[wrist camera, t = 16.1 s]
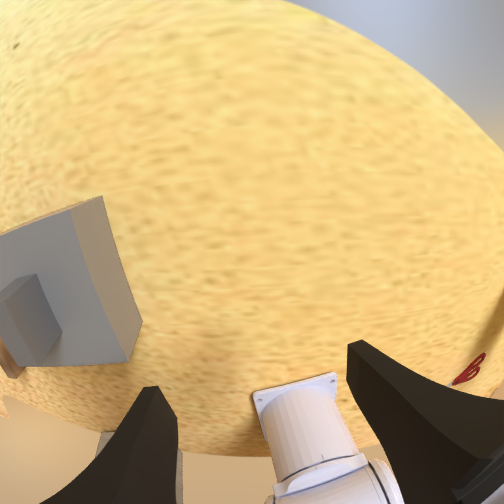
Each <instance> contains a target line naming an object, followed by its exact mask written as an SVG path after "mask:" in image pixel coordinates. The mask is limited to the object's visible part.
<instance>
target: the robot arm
mask: <svg viewBox="0 0 504 504" xmlns="http://www.w3.org/2000/svg"><path fill="white" fill-rule="evenodd" d="M346 381H347V383H348V385H349V388H350V390H351V392H352V395H353V397H354V399H355V401H356V403H357V405H358V406H359V408H360V410H361V411H362V413H363V415H364V416H365V418H366V420H367V421H368V423H369V425H370V426H371V428H372V430H373V431H374V433H375V434H376V436H377V438H378V439H379V441H380V443H381V445H382V447H383V448H384V451H385V453H386V456H387V458H388V460H389V462H390V465H391V467H392V470H393V472H394V475H395V477H396V480H397V482H396V480H395V478H394V476H393V474H392V472H391V471H390V469H389V468H388V466H387V465H386V463H385V462H383V461H382V460H377V459H376V458H372V459H370V460H369V461H368V462H367V460H366V458H365V456H364V454H363V453H359V451H358V449H357V446H356V444H355V442H354V440H353V438H352V436H351V434H350V432H349V430H348V428H347V426H346V423H345V421H344V419H343V417H342V415H341V413H340V411H339V409H338V407H337V405H336V391H337V374H336V373H335V372H330V373H327V374H323V375H320V376H317V377H313V378H309V379H306V380H302V381H298V382H295V383H291V384H287V385H282V386H278V387H274V388H270V389H265V390H260V391H256V392H254V393H253V400H254V403H255V407H256V410H257V414H258V417H259V421H260V424H261V428H262V431H263V435H264V438H265V441H266V442H268V443H269V448H270V452H271V456H272V460H273V465H274V469H275V473H276V477H277V482H278V484H275V485H273V490H274V495H270V496H268V498H267V499H266V502H265V503H264V504H504V400H498V399H491V398H485V397H480V396H476V395H472V394H468V393H464V392H461V391H458V390H454V389H451V388H449V387H446V386H444V385H441V384H439V383H436V382H434V381H432V380H429V379H427V378H425V377H423V376H421V375H419V374H417V373H415V372H414V371H412V370H410V369H408V368H407V367H405V366H403V365H401V364H400V363H398V362H396V361H395V360H393V359H392V358H390V357H388V356H387V355H385V354H384V353H382V352H381V351H379V350H378V349H376V348H375V347H373V346H371V345H370V344H368V343H367V342H365V341H364V340H359V341H356V342H353V343H350V344H348V351H347V376H346ZM177 453H178V425H177V417H176V415H175V413H174V412H173V410H172V409H171V407H170V405H169V404H168V402H167V400H166V399H165V397H164V395H163V394H162V392H161V390H160V388H159V387H158V386H151V387H144V388H143V389H142V391H141V392H140V394H139V395H138V397H137V398H136V400H135V402H134V403H133V405H132V406H131V408H130V410H129V411H128V413H127V414H126V416H125V418H124V419H123V421H122V422H121V424H120V425H119V427H118V428H117V430H116V431H115V433H114V434H113V436H112V437H111V438H110V440H109V441H108V442H107V444H106V445H105V447H104V448H103V449H102V450H101V452H100V453H99V454H98V455H97V457H96V458H95V459H94V460H93V461H92V462H91V463H90V464H89V465H88V467H87V468H86V469H85V470H84V471H82V472H81V473H80V474H79V475H78V476H77V477H76V478H75V479H74V480H73V481H72V482H71V483H69V484H68V485H67V486H65V487H64V488H63V489H62V490H60V491H59V492H57V493H56V494H55V495H53V496H52V497H50V498H48V499H47V500H45V501H43V502H42V503H40V504H177V502H176V469H177ZM397 483H398V484H397Z"/></svg>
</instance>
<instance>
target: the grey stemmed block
mask: <svg viewBox="0 0 504 504" xmlns="http://www.w3.org/2000/svg"><path fill="white" fill-rule="evenodd" d="M142 322H143V321H142V319H141V316H140V314H139V311H138V308H137V306H136V303H135V301H134V298H133V295H132V293H131V290H130V287H129V284H128V282H127V279H126V276H125V273H124V270H123V267H122V264H121V261H120V258H119V255H118V251H117V248H116V245H115V242H114V238H113V235H112V231H111V228H110V224H109V220H108V217H107V213H106V209H105V205H104V201H103V197H102V196H99V197H95V198H92V199H89V200H86V201H83V202H80V203H77V204H74V205H71V206H68V207H65V208H62V209H60V210H57V211H54V212H51V213H49V214H46V215H43V216H41V217H38V218H35V219H33V220H30V221H28V222H25V223H23V224H20V225H18V226H16V227H13V228H11V229H9V230H7V231H5V232H3V233H1V234H0V336H1V338H2V340H3V342H4V344H5V345H6V347H7V349H8V350H9V352H10V354H11V356H12V357H13V359H14V360H15V362H16V364H17V365H18V366H24V367H57V366H83V365H100V364H113V363H124V362H129V360H130V357H131V354H132V351H133V348H134V345H135V342H136V339H137V336H138V333H139V331H140V328H141V325H142Z"/></svg>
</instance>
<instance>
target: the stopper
mask: <svg viewBox="0 0 504 504" xmlns="http://www.w3.org/2000/svg"><path fill="white" fill-rule="evenodd" d="M0 365H1V367H2V369H3V370H4V372H5V373H6V375H7V376H8V377H9V378H13V379H17V378H18V376H19V375H20V373H21V372H22V370H23V369H24V366H18V365H17V364H16V362H15V360H14V359H13V357H12V356H11V354H10V352H9V350H8V349H7V347H6V345H5V344H4V342H3V340H2V338H1V336H0Z"/></svg>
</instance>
